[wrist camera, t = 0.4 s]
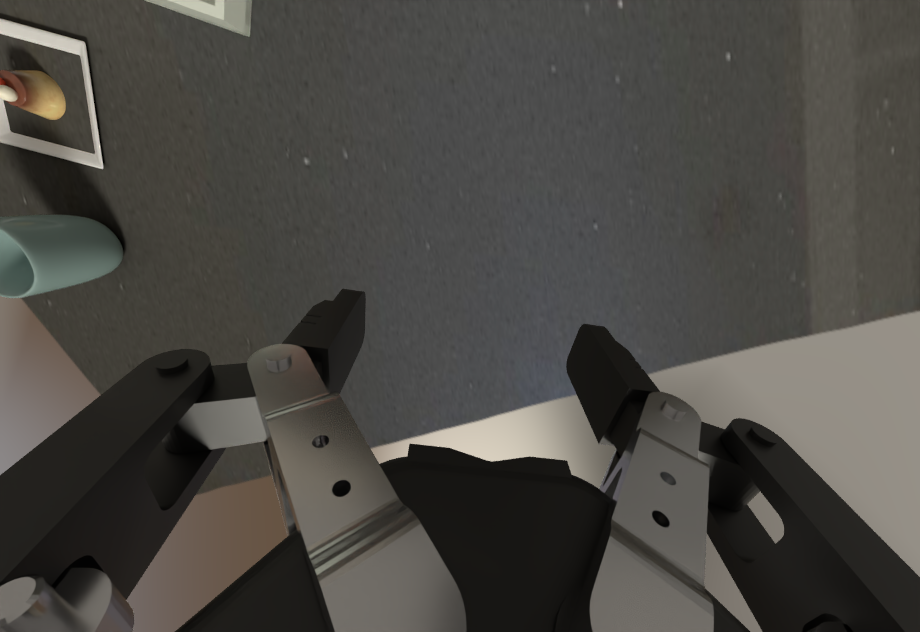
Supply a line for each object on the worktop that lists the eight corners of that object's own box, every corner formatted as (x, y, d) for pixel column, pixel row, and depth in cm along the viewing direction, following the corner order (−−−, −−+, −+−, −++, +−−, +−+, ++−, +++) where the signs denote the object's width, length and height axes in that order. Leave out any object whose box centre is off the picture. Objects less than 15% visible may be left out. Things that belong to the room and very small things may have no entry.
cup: (149, 261, 41) (52, 282, 32) (105, 283, 43) (0, 309, 33) (104, 201, 39) (-14, 204, 29) (59, 226, 40) (-68, 237, 31)
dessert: (-23, 13, 33) (-101, -15, 29) (96, 46, 34) (38, 24, 29) (8, 142, 37) (-56, 135, 33) (113, 169, 38) (64, 167, 33)
